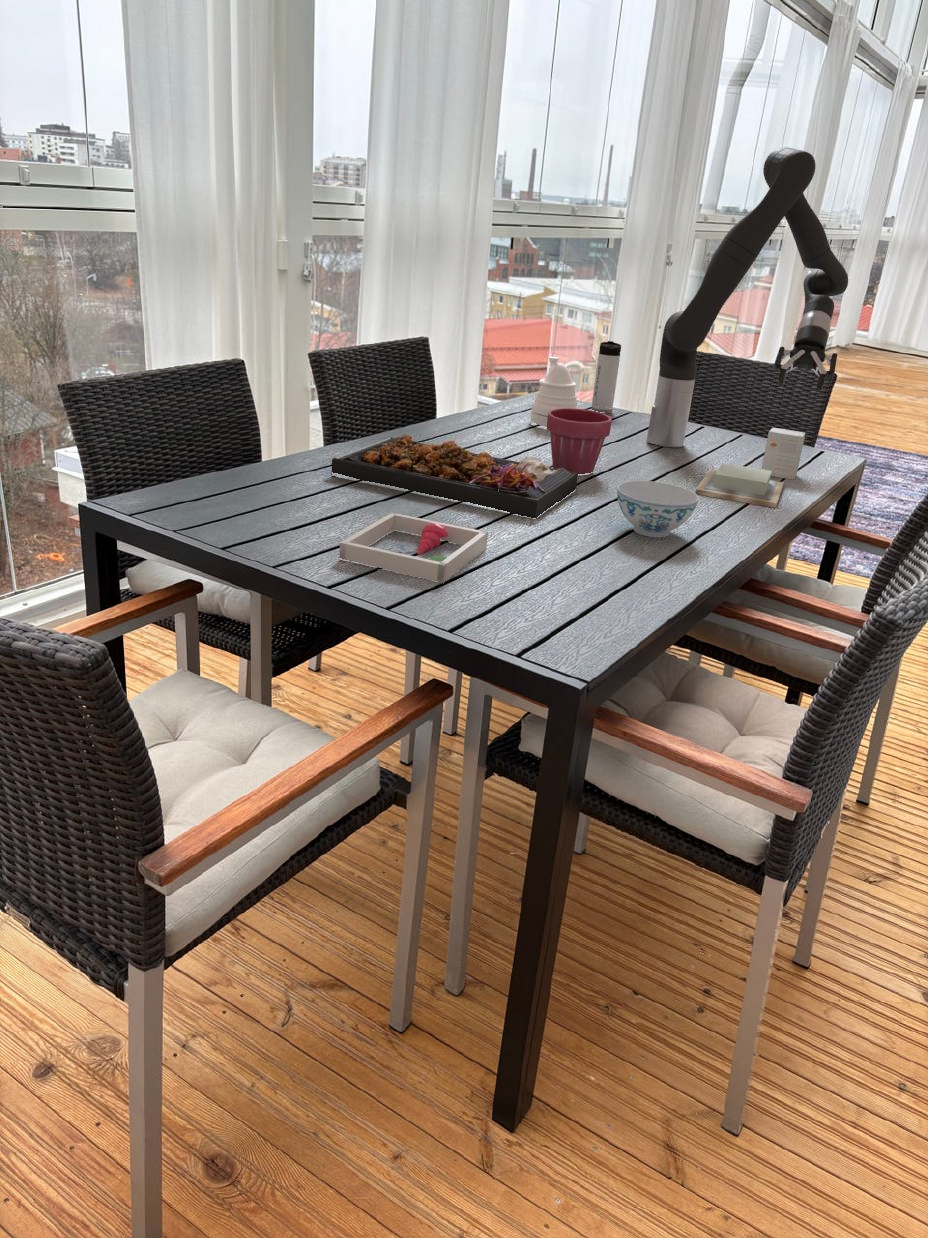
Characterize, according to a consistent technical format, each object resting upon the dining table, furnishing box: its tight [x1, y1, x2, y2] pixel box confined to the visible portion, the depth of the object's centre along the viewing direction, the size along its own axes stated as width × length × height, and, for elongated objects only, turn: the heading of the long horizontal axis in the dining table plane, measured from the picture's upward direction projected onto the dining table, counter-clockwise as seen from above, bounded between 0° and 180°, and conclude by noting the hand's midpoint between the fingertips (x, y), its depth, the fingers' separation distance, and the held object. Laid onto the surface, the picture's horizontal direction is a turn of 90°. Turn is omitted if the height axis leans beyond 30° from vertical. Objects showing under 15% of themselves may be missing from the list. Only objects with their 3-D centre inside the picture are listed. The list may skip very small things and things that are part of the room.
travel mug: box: [590, 340, 622, 414], centre depth 279 cm, size 6×7×20 cm
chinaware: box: [616, 480, 700, 538], centre depth 177 cm, size 15×15×8 cm
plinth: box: [713, 462, 772, 495], centre depth 211 cm, size 11×12×3 cm
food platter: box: [331, 433, 579, 519], centre depth 196 cm, size 45×25×10 cm, turn 65°
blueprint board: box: [694, 469, 785, 509], centre depth 212 cm, size 17×20×1 cm
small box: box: [761, 427, 806, 481], centre depth 226 cm, size 8×6×10 cm
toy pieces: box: [397, 523, 448, 561], centre depth 157 cm, size 12×11×4 cm
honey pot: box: [529, 356, 580, 427], centre depth 256 cm, size 13×13×18 cm
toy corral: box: [338, 512, 489, 584], centre depth 156 cm, size 18×19×3 cm
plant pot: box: [547, 408, 613, 474], centre depth 213 cm, size 14×14×13 cm
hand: (799, 387), depth 231 cm, fingers open, 8 cm apart
